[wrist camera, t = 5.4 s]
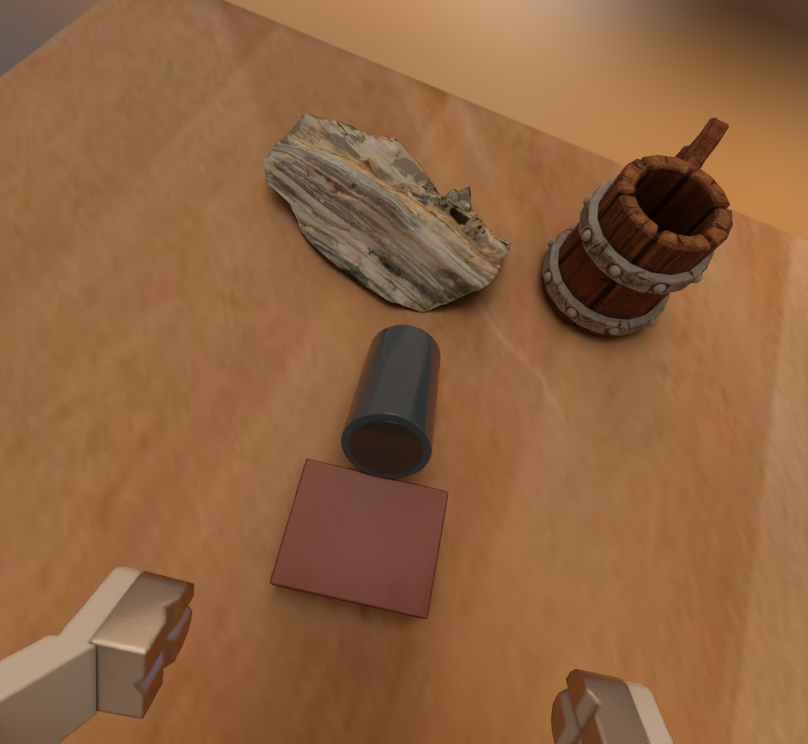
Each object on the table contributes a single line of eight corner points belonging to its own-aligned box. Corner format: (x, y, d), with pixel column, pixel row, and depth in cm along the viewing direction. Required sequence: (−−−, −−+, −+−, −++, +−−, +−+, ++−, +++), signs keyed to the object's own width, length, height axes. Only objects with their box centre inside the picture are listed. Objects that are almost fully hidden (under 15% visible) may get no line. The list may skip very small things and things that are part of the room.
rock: (427, 353, 43) (519, 244, 47) (447, 333, 36) (553, 208, 40) (235, 189, 43) (343, 92, 46) (219, 138, 36) (347, 29, 40)
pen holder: (430, 390, 38) (419, 487, 30) (364, 374, 38) (335, 468, 30) (448, 334, 35) (441, 427, 27) (376, 316, 35) (346, 404, 27)
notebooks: (418, 615, 32) (430, 623, 28) (275, 582, 32) (264, 586, 27) (438, 498, 35) (452, 489, 31) (308, 467, 35) (304, 454, 30)
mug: (509, 303, 42) (604, 155, 29) (561, 222, 50) (655, 77, 37) (623, 373, 41) (775, 250, 28) (659, 279, 48) (791, 149, 36)
